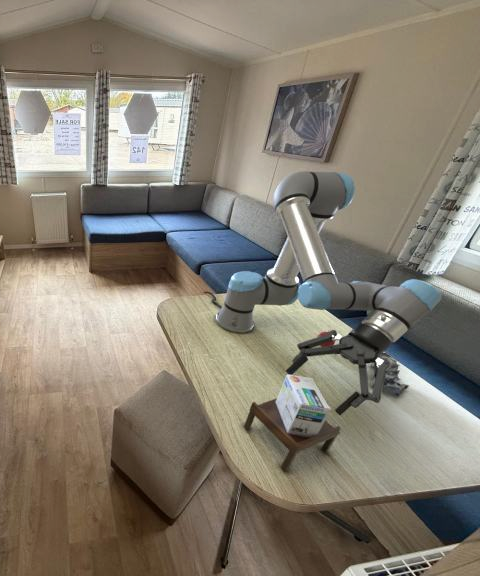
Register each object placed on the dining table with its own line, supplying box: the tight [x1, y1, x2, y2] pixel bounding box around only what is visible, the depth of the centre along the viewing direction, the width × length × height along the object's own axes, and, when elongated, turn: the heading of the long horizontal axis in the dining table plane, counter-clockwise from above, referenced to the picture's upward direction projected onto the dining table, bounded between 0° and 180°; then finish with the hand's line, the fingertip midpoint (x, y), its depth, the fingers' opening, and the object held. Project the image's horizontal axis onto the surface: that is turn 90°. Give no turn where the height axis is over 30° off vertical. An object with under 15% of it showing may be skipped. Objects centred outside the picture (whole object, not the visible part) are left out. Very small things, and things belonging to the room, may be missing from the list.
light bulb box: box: [276, 374, 332, 438], centre depth 79 cm, size 11×7×11 cm, turn 169°
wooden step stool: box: [243, 397, 342, 473], centre depth 83 cm, size 14×16×10 cm
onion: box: [316, 329, 336, 347], centre depth 120 cm, size 6×6×8 cm
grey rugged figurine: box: [370, 351, 410, 397], centre depth 105 cm, size 12×11×15 cm
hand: (310, 391), depth 78 cm, fingers open, 13 cm apart
